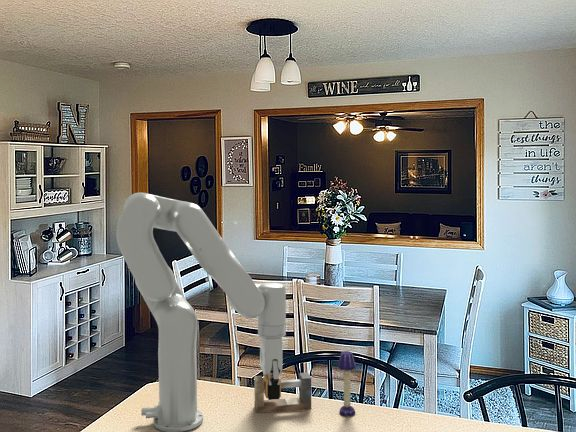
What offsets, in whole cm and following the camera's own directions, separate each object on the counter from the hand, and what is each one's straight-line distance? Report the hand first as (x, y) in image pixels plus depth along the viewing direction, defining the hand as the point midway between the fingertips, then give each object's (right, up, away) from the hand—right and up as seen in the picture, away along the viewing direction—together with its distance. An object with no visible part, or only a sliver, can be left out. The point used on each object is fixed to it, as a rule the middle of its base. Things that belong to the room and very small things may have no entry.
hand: (272, 394), depth 154 cm
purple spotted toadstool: (+20, -4, -3) cm, 21 cm away
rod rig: (+3, -4, +1) cm, 5 cm away
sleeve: (0, 0, 0) cm, 0 cm away
